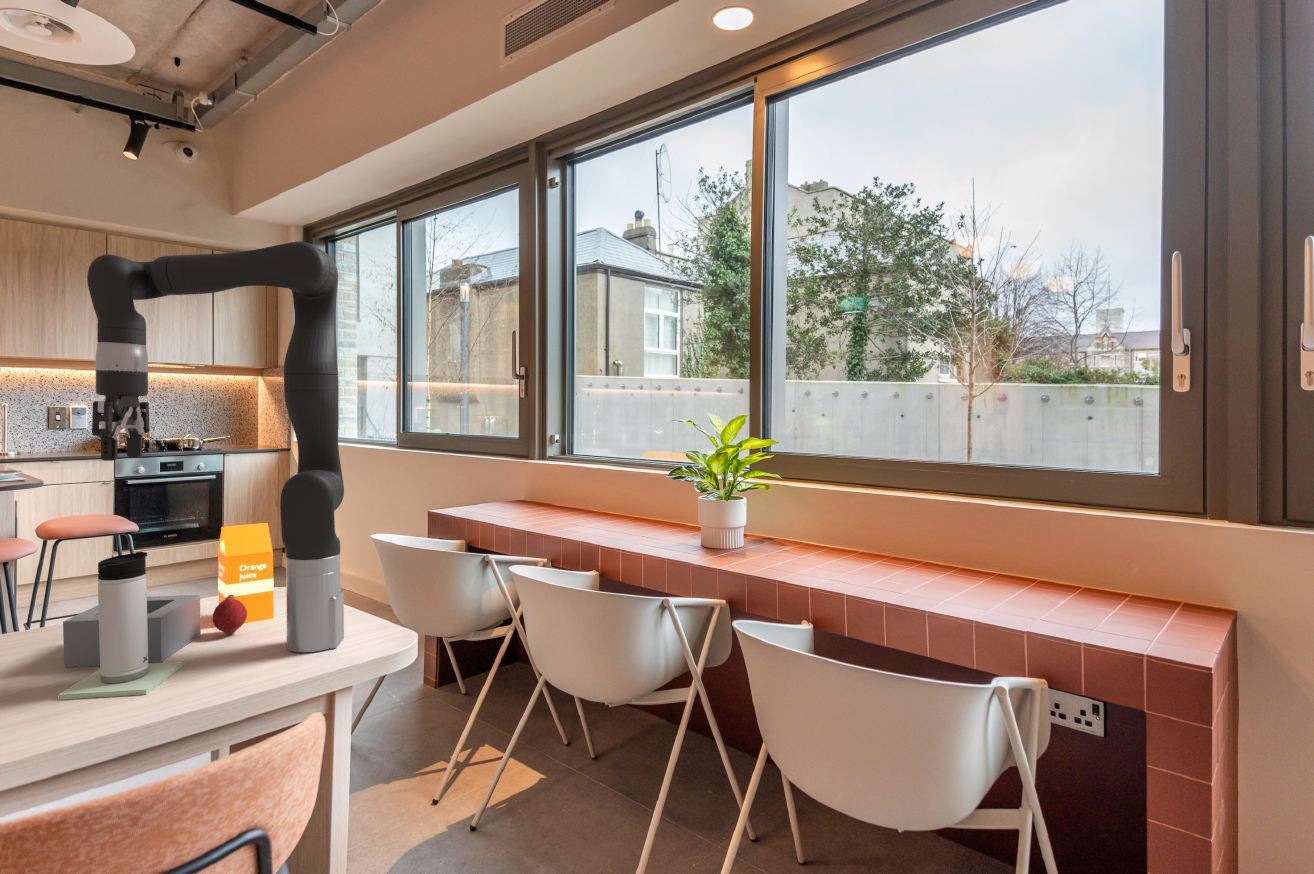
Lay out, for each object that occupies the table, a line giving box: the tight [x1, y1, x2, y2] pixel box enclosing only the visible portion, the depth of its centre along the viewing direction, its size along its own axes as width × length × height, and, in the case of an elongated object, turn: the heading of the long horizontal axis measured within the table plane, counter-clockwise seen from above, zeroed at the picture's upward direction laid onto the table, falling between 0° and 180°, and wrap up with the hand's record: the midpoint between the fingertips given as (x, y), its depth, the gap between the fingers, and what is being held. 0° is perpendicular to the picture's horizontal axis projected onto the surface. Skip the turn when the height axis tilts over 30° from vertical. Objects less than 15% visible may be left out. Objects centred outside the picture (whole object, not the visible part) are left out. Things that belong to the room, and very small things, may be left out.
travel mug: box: [97, 551, 149, 684], centre depth 113 cm, size 6×7×20 cm
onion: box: [211, 594, 247, 635], centre depth 137 cm, size 6×6×8 cm
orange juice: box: [217, 522, 275, 624], centre depth 147 cm, size 8×9×20 cm
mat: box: [57, 661, 184, 700], centre depth 113 cm, size 12×12×1 cm
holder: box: [62, 594, 201, 668], centre depth 128 cm, size 15×15×8 cm
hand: (122, 458), depth 126 cm, fingers open, 8 cm apart
